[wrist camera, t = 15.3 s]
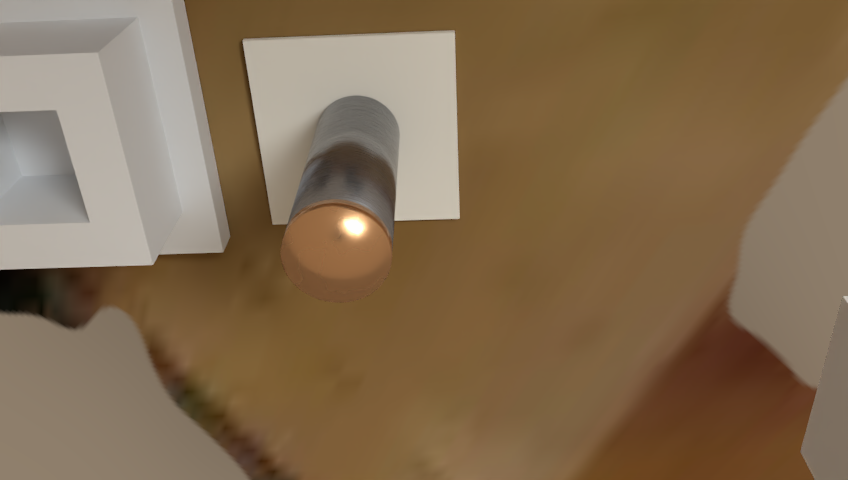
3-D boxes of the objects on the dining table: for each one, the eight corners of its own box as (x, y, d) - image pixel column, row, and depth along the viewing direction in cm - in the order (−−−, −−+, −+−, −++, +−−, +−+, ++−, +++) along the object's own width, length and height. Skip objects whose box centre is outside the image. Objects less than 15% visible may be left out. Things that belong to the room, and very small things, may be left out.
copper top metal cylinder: (312, 96, 47) (274, 209, 35) (397, 94, 47) (389, 206, 35) (320, 173, 50) (286, 303, 38) (401, 171, 50) (394, 301, 38)
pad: (243, 38, 46) (242, 40, 46) (454, 30, 46) (454, 32, 45) (273, 221, 52) (272, 224, 52) (459, 215, 52) (459, 218, 51)
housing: (-116, -38, 44) (-218, 1, 37) (173, -51, 44) (124, -14, 37) (-10, 243, 53) (-76, 315, 47) (230, 236, 53) (199, 308, 46)
